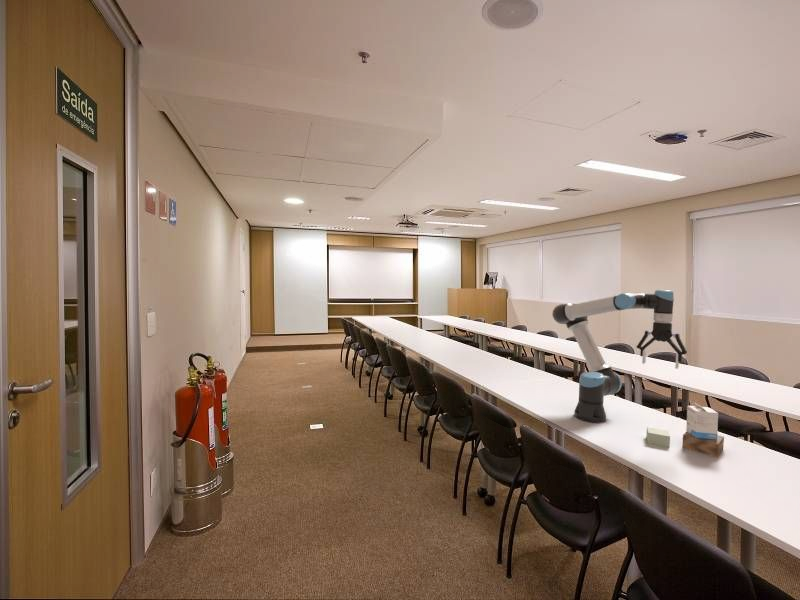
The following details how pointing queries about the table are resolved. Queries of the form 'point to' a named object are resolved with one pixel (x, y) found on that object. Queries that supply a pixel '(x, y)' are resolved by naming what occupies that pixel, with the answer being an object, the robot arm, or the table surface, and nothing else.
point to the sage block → (658, 437)
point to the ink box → (702, 422)
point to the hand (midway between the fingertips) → (659, 365)
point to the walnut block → (703, 444)
